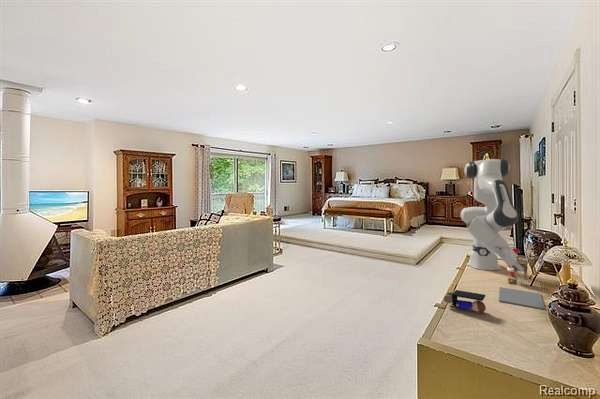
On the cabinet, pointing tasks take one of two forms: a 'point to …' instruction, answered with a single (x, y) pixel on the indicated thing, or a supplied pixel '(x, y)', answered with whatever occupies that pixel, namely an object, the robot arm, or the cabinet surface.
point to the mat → (521, 298)
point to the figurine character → (476, 305)
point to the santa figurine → (511, 269)
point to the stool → (524, 264)
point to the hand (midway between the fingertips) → (522, 268)
